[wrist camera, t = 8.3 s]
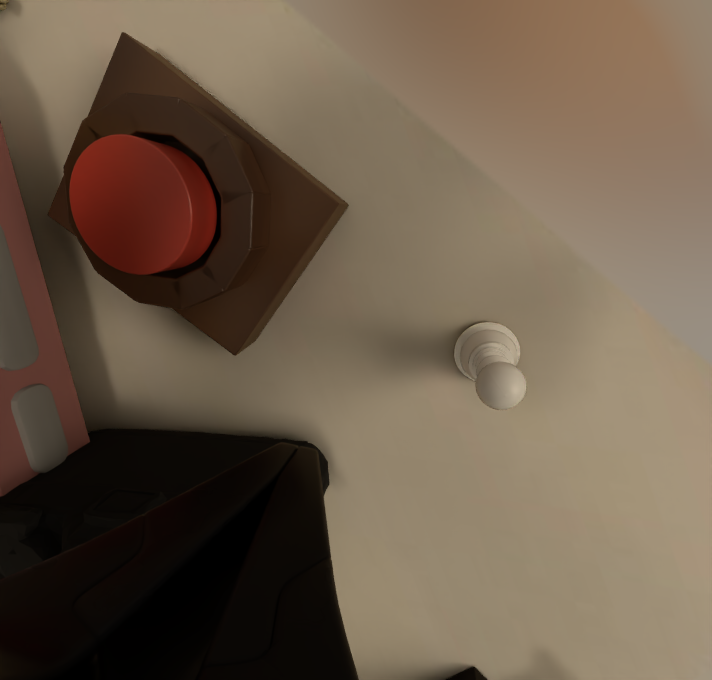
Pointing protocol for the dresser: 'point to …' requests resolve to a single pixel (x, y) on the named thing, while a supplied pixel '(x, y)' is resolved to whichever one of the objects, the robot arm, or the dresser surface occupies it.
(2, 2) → the ring
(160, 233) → the button
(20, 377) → the alarm clock
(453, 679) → the bracket
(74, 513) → the film camera
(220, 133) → the button box
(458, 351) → the chess pawn
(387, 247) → the dresser surface
